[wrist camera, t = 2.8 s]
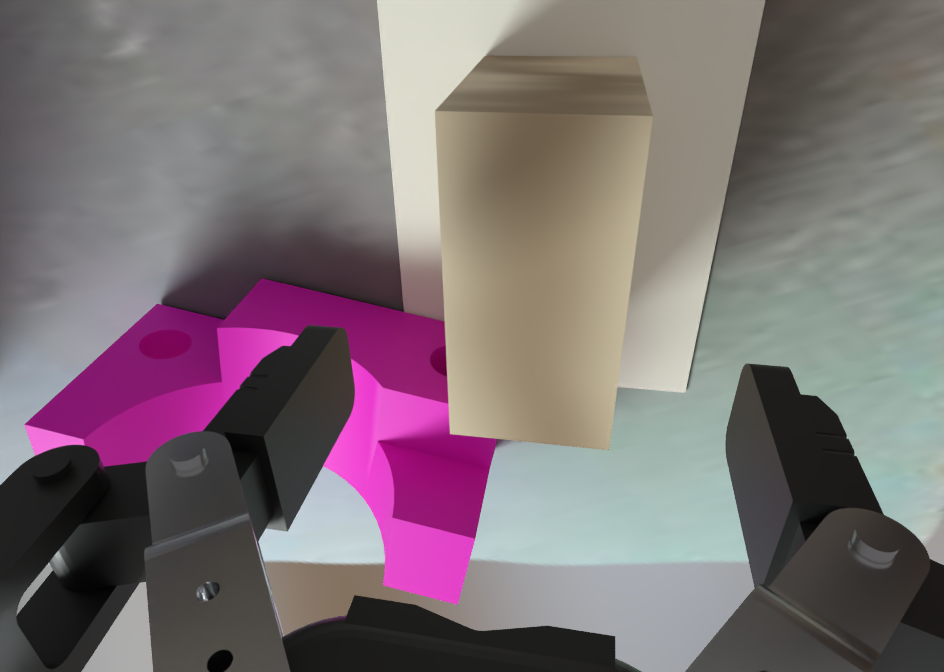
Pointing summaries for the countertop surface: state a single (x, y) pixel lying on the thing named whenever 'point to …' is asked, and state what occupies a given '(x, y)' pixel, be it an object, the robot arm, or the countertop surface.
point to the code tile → (670, 149)
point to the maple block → (539, 242)
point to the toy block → (358, 446)
